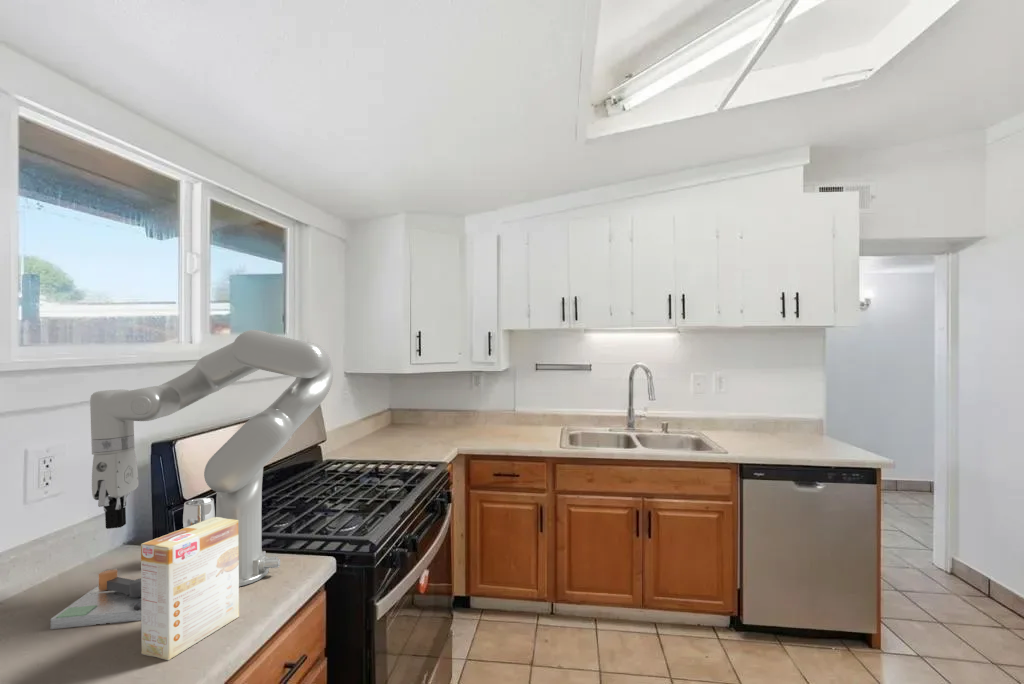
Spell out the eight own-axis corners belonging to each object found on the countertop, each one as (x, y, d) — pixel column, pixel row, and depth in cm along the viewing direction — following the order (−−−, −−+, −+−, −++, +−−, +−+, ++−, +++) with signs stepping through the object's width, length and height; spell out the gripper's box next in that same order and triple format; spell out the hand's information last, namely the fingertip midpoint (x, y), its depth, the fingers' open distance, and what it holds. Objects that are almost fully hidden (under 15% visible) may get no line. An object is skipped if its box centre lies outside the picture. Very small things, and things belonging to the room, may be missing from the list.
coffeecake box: (213, 611, 101) (213, 516, 102) (240, 617, 99) (240, 519, 100) (138, 654, 87) (138, 542, 87) (168, 661, 85) (168, 547, 85)
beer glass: (220, 556, 129) (220, 499, 130) (194, 567, 123) (194, 506, 123) (203, 552, 132) (203, 496, 133) (176, 562, 126) (176, 503, 126)
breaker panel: (177, 587, 112) (177, 577, 112) (142, 620, 98) (142, 608, 98) (97, 594, 109) (97, 584, 109) (50, 629, 96) (50, 617, 96)
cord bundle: (192, 583, 114) (192, 569, 114) (153, 622, 97) (153, 606, 97) (172, 585, 113) (172, 571, 113) (129, 625, 97) (129, 608, 97)
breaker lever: (154, 590, 106) (154, 576, 106) (137, 598, 102) (137, 583, 102) (112, 581, 110) (112, 568, 110) (93, 589, 107) (93, 575, 107)
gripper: (114, 449, 105) (117, 536, 104) (148, 438, 119) (151, 514, 119) (72, 452, 103) (75, 541, 103) (112, 440, 117) (114, 518, 117)
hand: (115, 526), depth 111 cm, fingers closed
